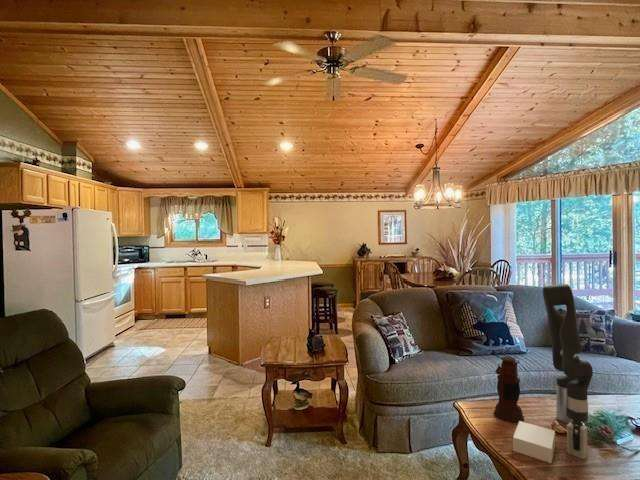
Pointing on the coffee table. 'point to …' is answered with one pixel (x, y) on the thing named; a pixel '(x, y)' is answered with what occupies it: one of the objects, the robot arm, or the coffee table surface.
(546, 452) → the cream box
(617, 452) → the coffee table surface
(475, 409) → the coffee table surface
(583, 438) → the skincare box
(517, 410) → the dark brown tall piece
